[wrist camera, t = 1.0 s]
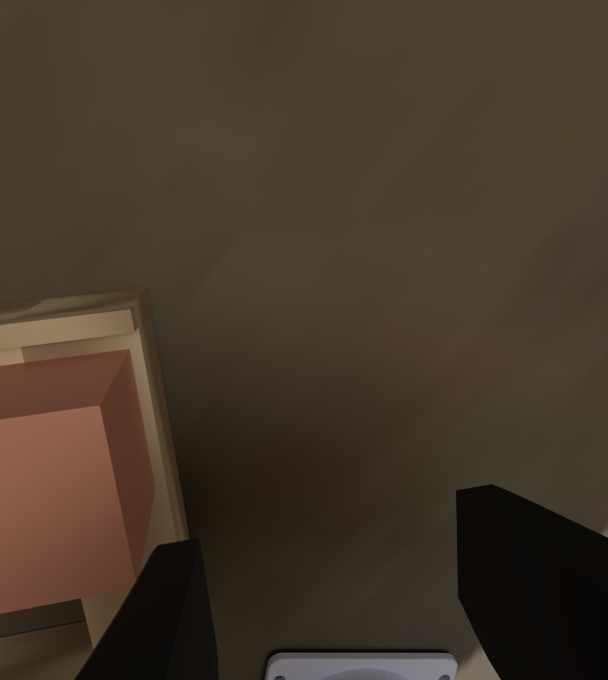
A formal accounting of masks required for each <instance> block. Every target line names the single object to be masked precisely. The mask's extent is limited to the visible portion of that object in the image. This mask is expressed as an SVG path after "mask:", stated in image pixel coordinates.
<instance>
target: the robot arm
mask: <svg viewBox="0 0 608 680" xmlns="http://www.w3.org/2000/svg"><path fill="white" fill-rule="evenodd" d="M456 509H457V561H458V598H459V600H460V602H461V604H462V606H463V608H464V610H465V613H466V615H467V617H468V619H469V621H470V623H471V625H472V627H473V630H474V632H475V634H476V636H477V638H478V640H479V642H480V644H481V646H482V648H483V650H484V652H485V654H486V655H487V657H488V659H489V661H490V662H491V664H492V666H493V667H494V669H495V671H496V672H497V674H498V676H499V677H500V679H501V680H608V537H605V536H603V535H601V534H599V533H597V532H595V531H593V530H590V529H588V528H586V527H584V526H582V525H580V524H578V523H576V522H574V521H571V520H569V519H567V518H565V517H563V516H561V515H559V514H557V513H555V512H553V511H551V510H548V509H546V508H544V507H542V506H540V505H538V504H536V503H534V502H532V501H529V500H527V499H525V498H523V497H521V496H519V495H516V494H514V493H512V492H510V491H507V490H505V489H503V488H500V487H497V486H495V485H492V484H490V485H484V486H479V487H473V488H468V489H462V490H457V491H456ZM457 666H458V665H457V663H456V661H455V659H454V657H453V656H452V655H451V654H448V653H277V654H275V655H273V656H272V657H271V658H270V659H269V661H268V664H267V669H266V675H265V680H454V679H455V676H456V672H457ZM442 675H443V676H442ZM277 676H282V677H281V678H275V677H277ZM74 680H219V676H218V657H217V645H216V639H215V633H214V627H213V621H212V615H211V609H210V603H209V597H208V591H207V585H206V579H205V573H204V567H203V561H202V555H201V548H200V542H199V538H194V539H188V540H183V541H177V542H172V543H166V544H161V545H157V547H156V548H155V549H154V550H153V552H152V553H151V554H150V556H149V558H148V560H147V562H146V564H145V565H144V567H143V569H142V571H141V573H140V574H139V576H138V578H137V580H136V581H135V583H134V585H133V587H132V588H131V590H130V592H129V594H128V595H127V597H126V599H125V600H124V602H123V604H122V605H121V607H120V609H119V610H118V612H117V614H116V615H115V617H114V618H113V620H112V622H111V623H110V625H109V626H108V628H107V629H106V631H105V633H104V634H103V636H102V637H101V639H100V641H99V642H98V644H97V645H96V647H95V648H94V650H93V652H92V653H91V655H90V656H89V658H88V659H87V661H86V662H85V664H84V665H83V667H82V668H81V670H80V671H79V673H78V674H77V676H76V677H75V679H74Z"/></svg>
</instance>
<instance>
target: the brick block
mask: <svg viewBox="0 0 608 680" xmlns="http://www.w3.org/2000/svg"><path fill="white" fill-rule="evenodd" d="M154 493H155V482H154V477H153V472H152V466H151V461H150V455H149V450H148V445H147V439H146V434H145V428H144V423H143V417H142V412H141V407H140V401H139V396H138V390H137V385H136V380H135V374H134V369H133V363H132V358H131V352H130V349H124V350H117V351H109V352H102V353H94V354H86V355H79V356H71V357H63V358H56V359H48V360H40V361H33V362H25V363H17V364H10V365H2V366H0V614H2V613H7V612H12V611H18V610H23V609H28V608H33V607H38V606H44V605H49V604H54V603H59V602H64V601H70V600H75V599H80V598H85V597H90V596H96V595H101V594H106V593H111V592H116V591H122V590H127V589H131V588H132V587H133V585H134V583H135V581H136V580H137V578H138V576H139V574H140V570H141V564H142V559H143V553H144V548H145V542H146V537H147V532H148V526H149V521H150V515H151V510H152V504H153V499H154Z"/></svg>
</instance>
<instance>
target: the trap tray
mask: <svg viewBox="0 0 608 680" xmlns="http://www.w3.org/2000/svg"><path fill="white" fill-rule="evenodd" d="M124 349H130V352H131V358H132V363H133V369H134V374H135V380H136V385H137V390H138V396H139V401H140V407H141V412H142V417H143V423H144V428H145V434H146V439H147V445H148V450H149V455H150V461H151V466H152V472H153V477H154V482H155V493H154V499H153V504H152V510H151V515H150V521H149V526H148V532H147V537H146V542H145V548H144V553H143V559H142V564H141V570H140V573H141V571H142V569H143V567H144V565H145V564H146V562H147V560H148V558H149V556H150V554H151V553H152V552H153V550H154V549H155V548H156V547H157V545H161V544H166V543H172V542H177V541H183V540H188V539H190V538H189V532H188V526H187V520H186V514H185V508H184V503H183V497H182V491H181V485H180V479H179V473H178V467H177V462H176V456H175V450H174V444H173V438H172V432H171V426H170V421H169V415H168V409H167V403H166V397H165V391H164V385H163V380H162V374H161V368H160V362H159V356H158V350H157V344H156V339H155V333H154V327H153V321H152V315H151V309H150V303H149V297H148V292H147V287H143V288H135V289H126V290H117V291H109V292H100V293H91V294H83V295H74V296H65V297H57V298H48V299H39V300H31V301H22V302H13V303H5V304H0V366H2V365H10V364H17V363H25V362H33V361H40V360H48V359H56V358H63V357H71V356H79V355H86V354H94V353H102V352H109V351H117V350H124ZM130 590H131V589H127V590H122V591H116V592H111V593H106V594H101V595H96V596H90V597H85V598H81V600H82V605H83V609H84V613H85V617H86V621H82V622H77V623H72V624H67V625H62V626H57V627H52V628H47V629H42V630H37V631H31V632H26V633H21V634H16V635H11V636H6V637H1V638H0V680H74V679H75V677H76V676H77V674H78V673H79V671H80V670H81V668H82V667H83V665H84V664H85V662H86V661H87V659H88V658H89V656H90V655H91V653H92V652H93V650H94V648H95V647H96V645H97V644H98V642H99V641H100V639H101V637H102V636H103V634H104V633H105V631H106V629H107V628H108V626H109V625H110V623H111V622H112V620H113V618H114V617H115V615H116V614H117V612H118V610H119V609H120V607H121V605H122V604H123V602H124V600H125V599H126V597H127V595H128V594H129V592H130Z"/></svg>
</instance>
